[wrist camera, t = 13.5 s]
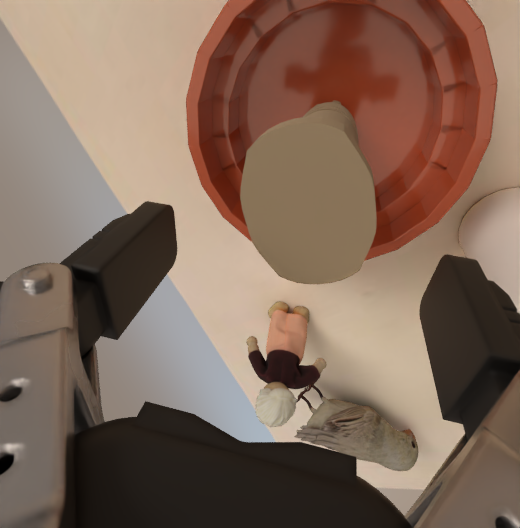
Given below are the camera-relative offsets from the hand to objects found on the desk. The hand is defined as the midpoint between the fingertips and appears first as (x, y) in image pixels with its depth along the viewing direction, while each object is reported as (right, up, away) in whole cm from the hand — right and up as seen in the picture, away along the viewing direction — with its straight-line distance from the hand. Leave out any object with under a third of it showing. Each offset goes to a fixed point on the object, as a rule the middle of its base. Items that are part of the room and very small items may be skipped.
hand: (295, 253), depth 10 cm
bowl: (+4, +10, +15) cm, 19 cm away
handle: (+4, +10, +14) cm, 18 cm away
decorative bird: (+11, -18, +33) cm, 39 cm away
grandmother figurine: (+3, -6, +27) cm, 27 cm away
